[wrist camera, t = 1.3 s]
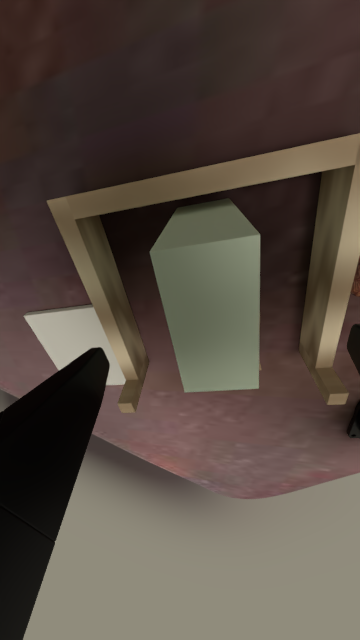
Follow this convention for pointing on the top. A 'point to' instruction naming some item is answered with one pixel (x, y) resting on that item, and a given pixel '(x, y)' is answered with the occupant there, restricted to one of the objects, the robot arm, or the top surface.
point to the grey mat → (73, 336)
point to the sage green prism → (211, 295)
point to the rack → (327, 156)
